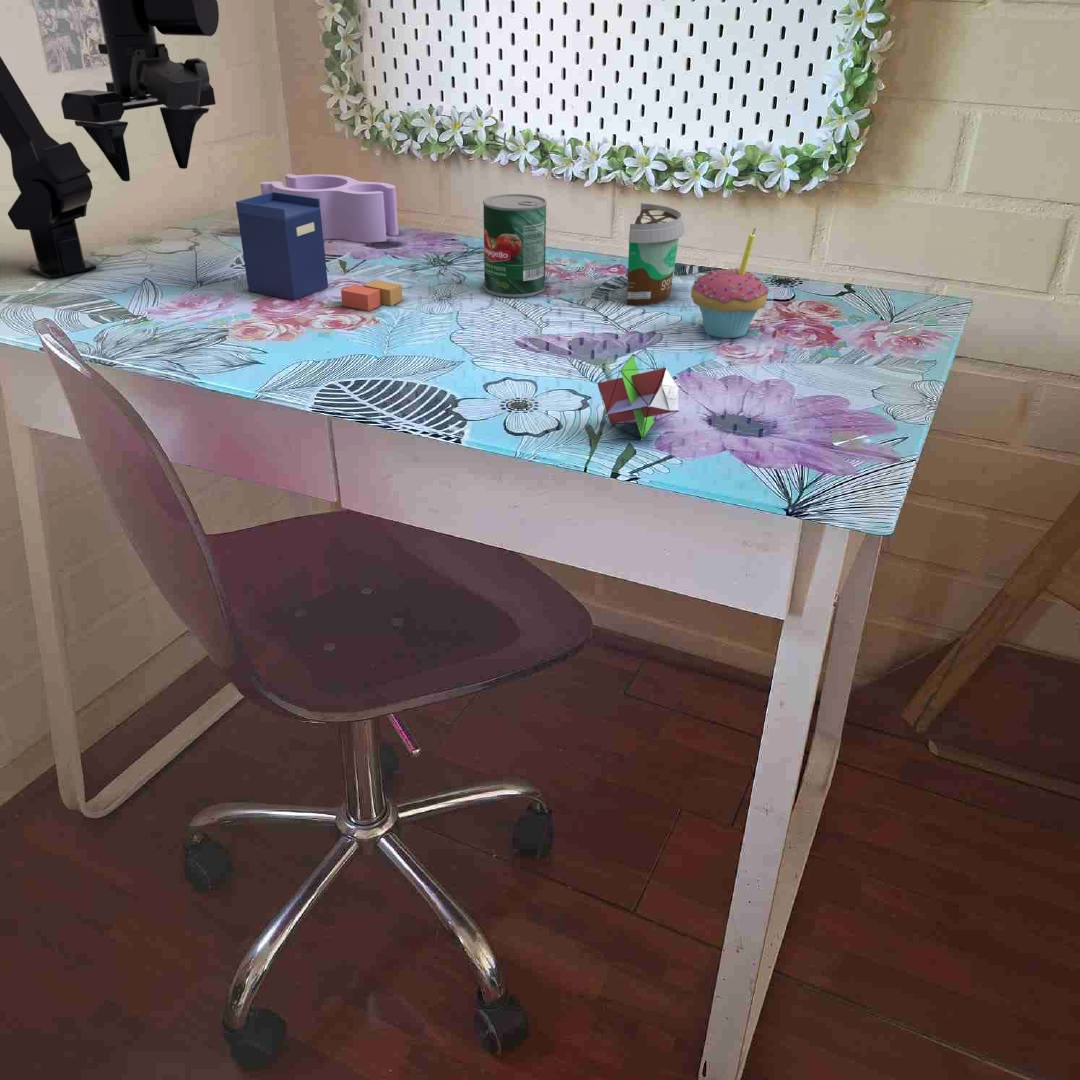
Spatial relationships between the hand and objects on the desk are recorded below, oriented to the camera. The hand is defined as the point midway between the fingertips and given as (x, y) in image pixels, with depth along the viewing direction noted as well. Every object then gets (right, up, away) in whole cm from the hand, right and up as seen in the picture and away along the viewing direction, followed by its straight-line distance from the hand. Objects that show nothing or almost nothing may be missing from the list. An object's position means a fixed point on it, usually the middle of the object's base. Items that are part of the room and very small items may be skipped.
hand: (155, 174), depth 123 cm
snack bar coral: (+26, -15, -3) cm, 30 cm away
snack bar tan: (+29, -14, -2) cm, 32 cm away
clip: (+16, +2, +29) cm, 33 cm away
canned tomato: (+45, -13, +4) cm, 47 cm away
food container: (+63, -15, +3) cm, 64 cm away
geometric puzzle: (+57, -36, -32) cm, 74 cm away
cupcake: (+69, -22, -9) cm, 73 cm away
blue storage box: (+16, -13, +3) cm, 21 cm away
